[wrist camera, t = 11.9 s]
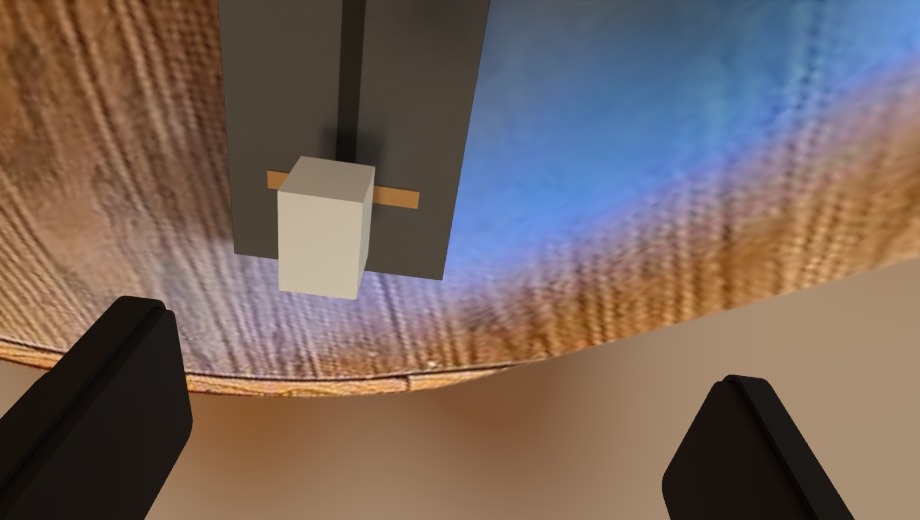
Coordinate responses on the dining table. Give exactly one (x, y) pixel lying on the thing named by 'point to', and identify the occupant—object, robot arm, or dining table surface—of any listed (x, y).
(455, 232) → the dining table surface
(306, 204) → the fader knob
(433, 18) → the fader console
